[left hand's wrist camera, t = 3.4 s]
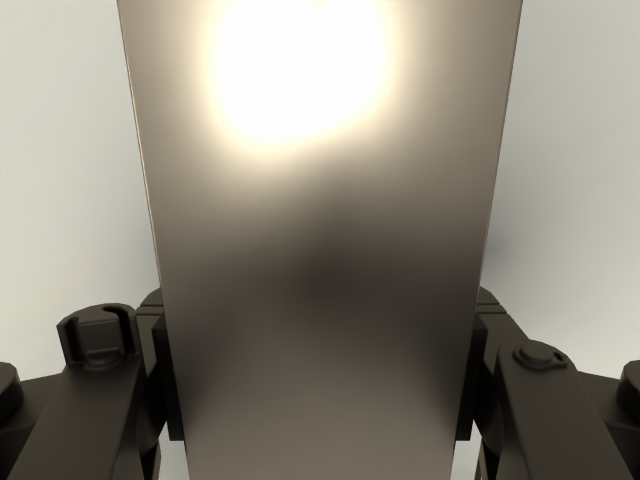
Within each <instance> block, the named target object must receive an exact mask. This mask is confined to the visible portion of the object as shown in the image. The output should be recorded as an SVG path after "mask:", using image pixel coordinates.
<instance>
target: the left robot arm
mask: <svg viewBox="0 0 640 480" xmlns="http://www.w3.org/2000/svg"><path fill="white" fill-rule="evenodd" d="M56 327H57V331H58V334H59V338H60V342H61V346H62V350H63V353H64V357H65V361H66V366H65V368H64V370H63V372H62V373H59V374H55V375H51V376H46V377H41V378H35V379H30V380H25V381H20V379H19V376H18V373H17V369H16V368H15V367H14V366H13V365H11V364H10V363H4V362H0V480H158V478H159V470H160V463H161V451H160V445H159V439H158V438H159V436H160V433H161V431H162V429H163V427H164V425H165V422H166V421H167V427H168V433H169V439H170V441H184V439H183V432H182V425H181V419H180V412H179V406H178V399H177V393H176V386H175V379H174V373H173V366H172V360H171V353H170V347H169V340H168V334H167V327H166V320H165V314H164V307H163V301H162V294H161V288H158V289H157V290H155V291H153V292H152V293H150V294H149V295H148V296H147V297H146V298H145V300H144V301H143V302H142V303H141V304H140V307H138V308H137V309H136V311H135V309H133V308H132V307H131V306H129V305H125V304H120V303H105V304H100V305H95V306H90V307H87V308H84V309H81V310H78V311H76V312H74V313H72V314H70V315H69V316H67V317H65V318H64V319H63V320H62V321H61V322H60V323H59V324H58V325H57V326H56ZM473 419H474V421H475V423H476V425H477V427H478V430H479V432H480V434H481V436H482V439H481V445H480V450H479V456H478V461H477V467H476V472H475V479H474V480H481V477H482V480H640V360H636V361H630V362H629V363H628V364H626V365H625V366H624V368H623V371H622V374H621V378H620V380H619V379H614V378H609V377H604V376H599V375H594V374H589V373H584V372H580V371H577V369H576V367H575V365H574V363H573V362H572V361H571V360H570V359H569V357H568V356H567V355H566V354H564V353H563V352H561V351H560V350H558V349H557V348H555V347H552V346H550V345H548V344H545V343H543V342H539V341H535V340H530V339H529V338H528V337H527V336H526V335H525V333H524V332H523V331H522V330H521V329H520V327H519V326H518V325H517V324H516V322H515V321H514V320H513V319H512V318H511V316H510V315H509V314H507V312H506V310H505V309H504V308H503V307H502V305H500V303H499V302H498V301H497V299H496V298H495V297H494V296H493V295H492V293H491V292H489V291H487V290H486V289H484V288H482V287H481V286H479V292H478V299H477V305H476V312H475V318H474V325H473V332H472V338H471V345H470V351H469V358H468V364H467V371H466V378H465V384H464V391H463V397H462V404H461V410H460V417H459V424H458V430H457V437H456V441H470V437H471V431H472V425H473Z"/></svg>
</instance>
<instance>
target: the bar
mask: <svg viewBox="0 0 640 480" xmlns="http://www.w3.org/2000/svg"><path fill="white" fill-rule="evenodd" d="M522 3H523V0H117V6H118V12H119V19H120V25H121V32H122V38H123V45H124V51H125V58H126V65H127V71H128V78H129V84H130V91H131V97H132V104H133V111H134V117H135V124H136V130H137V137H138V143H139V150H140V156H141V163H142V170H143V176H144V183H145V189H146V196H147V202H148V209H149V215H150V222H151V229H152V235H153V242H154V248H155V255H156V261H157V268H158V275H159V281H160V288H161V294H162V301H163V307H164V314H165V320H166V327H167V334H168V340H169V347H170V353H171V360H172V366H173V373H174V379H175V386H176V393H177V399H178V406H179V412H180V419H181V425H182V432H183V439H184V445H185V452H186V458H187V465H188V471H189V478H190V480H450V476H451V470H452V463H453V456H454V450H455V443H456V437H457V430H458V424H459V417H460V410H461V404H462V397H463V391H464V384H465V378H466V371H467V364H468V358H469V351H470V345H471V338H472V332H473V325H474V318H475V312H476V305H477V299H478V292H479V286H480V279H481V272H482V266H483V259H484V253H485V246H486V240H487V233H488V226H489V220H490V213H491V207H492V200H493V194H494V187H495V180H496V174H497V167H498V161H499V154H500V148H501V141H502V134H503V128H504V121H505V115H506V108H507V102H508V95H509V88H510V82H511V75H512V69H513V62H514V55H515V49H516V42H517V36H518V29H519V23H520V16H521V9H522Z"/></svg>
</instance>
